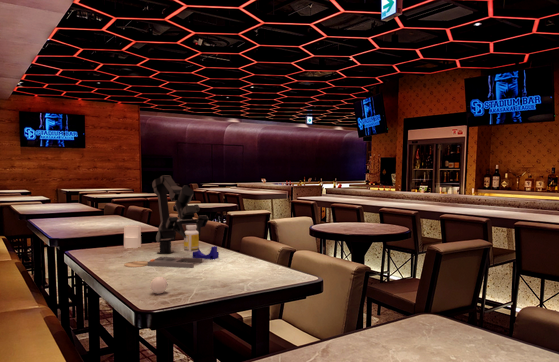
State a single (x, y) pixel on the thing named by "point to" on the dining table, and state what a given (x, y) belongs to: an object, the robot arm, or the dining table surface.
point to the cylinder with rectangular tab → (132, 236)
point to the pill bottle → (191, 239)
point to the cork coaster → (136, 264)
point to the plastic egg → (158, 285)
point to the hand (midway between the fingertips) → (192, 236)
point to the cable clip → (211, 255)
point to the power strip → (174, 262)
